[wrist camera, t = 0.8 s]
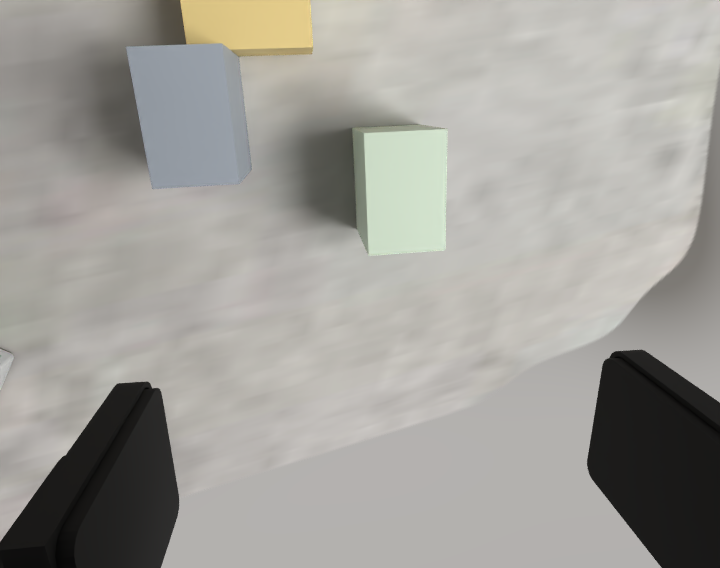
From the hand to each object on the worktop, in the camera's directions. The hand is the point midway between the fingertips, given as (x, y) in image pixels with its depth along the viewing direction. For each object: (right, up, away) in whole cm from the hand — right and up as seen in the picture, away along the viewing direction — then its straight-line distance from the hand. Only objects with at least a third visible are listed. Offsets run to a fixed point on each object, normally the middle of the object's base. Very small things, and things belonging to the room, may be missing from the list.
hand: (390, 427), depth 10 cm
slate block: (-9, +12, +17) cm, 23 cm away
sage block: (+1, +9, +19) cm, 22 cm away
